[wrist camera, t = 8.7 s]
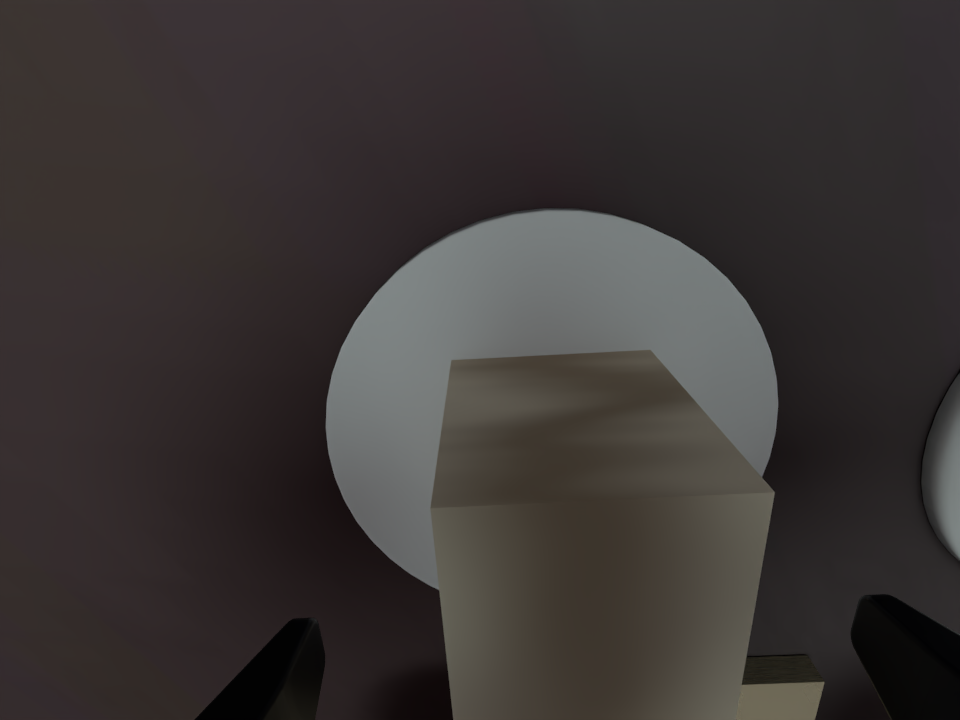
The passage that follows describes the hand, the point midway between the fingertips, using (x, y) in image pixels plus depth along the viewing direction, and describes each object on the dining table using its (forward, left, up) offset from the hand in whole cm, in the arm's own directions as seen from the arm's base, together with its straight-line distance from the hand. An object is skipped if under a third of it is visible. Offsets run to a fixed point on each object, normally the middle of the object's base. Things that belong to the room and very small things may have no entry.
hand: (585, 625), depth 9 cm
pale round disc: (0, 0, -7) cm, 7 cm away
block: (0, 0, -6) cm, 6 cm away
